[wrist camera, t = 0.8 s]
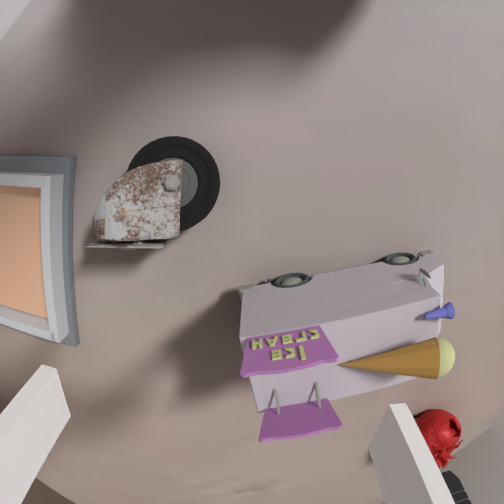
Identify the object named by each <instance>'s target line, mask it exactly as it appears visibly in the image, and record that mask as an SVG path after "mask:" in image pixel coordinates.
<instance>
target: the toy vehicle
mask: <svg viewBox="0 0 504 504" xmlns="http://www.w3.org/2000/svg"><path fill="white" fill-rule="evenodd" d="M443 284H444V263H443V262H441V261H440V260H438V259H436V258H435V257H433V252H432V251H430V250H426V251H422V252H419V254H417V258H416V257H415V256H414V255H413V254H409V253H395V254H391V255H389V256H387V257H386V258H385V259H384V261H383V262H378V263H373V264H368V265H363V266H358V267H352V268H347V269H342V270H337V271H331V272H326V273H321V274H315V275H313V278H312V279H310V277H309V276H308V275H306V274H302V273H291V274H287V275H283V276H281V277H279V278H278V279H276V280H275V282H274V284H273V285H271V281H270V279H268V283H266V284H261V285H256V286H252V284H251V285H245V286H240V287H239V294H240V299H241V304H242V308H241V321H240V334H239V339H240V343H241V347H242V351H243V355H244V357H243V361H242V366H241V370H240V377H241V378H247V377H249V379H250V383H251V387H252V391H253V395H254V399H255V402H256V406H257V410H258V413H261V412H264V417H263V421H262V426H261V430H260V435H259V442H266V441H270V440H280V439H293V438H300V437H306V436H310V435H314V434H318V433H322V432H325V431H329V430H337V429H341V428H342V423H341V421H340V420H339V418H338V416H337V415H336V413H335V411H334V410H333V408H332V406H331V404H330V403H329V401H331V400H335V399H340V398H344V397H349V396H353V395H357V394H361V393H365V392H369V391H373V390H377V389H380V388H384V387H388V386H391V385H395V384H398V383H402V382H405V381H408V380H411V379H415V378H418V377H420V378H429V379H437V378H440V377H442V376H444V375H446V374H447V373H448V372H449V371H450V369H451V368H452V367H453V364H454V360H455V352H454V349H453V347H452V345H451V344H450V343H449V342H448V341H447V340H444V339H442V338H438V334H439V333H440V329H441V318H447V319H452V318H454V315H455V310H454V307H453V305H452V303H450V302H448V303H447V304H445V305H444V306H443V307H442V304H443Z"/></svg>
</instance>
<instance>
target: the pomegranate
mask: <svg viewBox="0 0 504 504" xmlns="http://www.w3.org/2000/svg"><path fill="white" fill-rule="evenodd" d="M414 420H415V422H416V424H417V426H418V428H419V430H420V432H421V434H422V436H423V438H424V440H425V442H426V444H427V446H428V448H429V450H430V452H431V454H432V456H433V458H434V460H435V462H436V464H437V466H438V468H440V465H441V466H442V467H443V468H444V467H445V466H446V465H447V464H448V461H447V459H453V457H452V456H451V455H450V454H451V453H452V451H453V450H454V449H455V448H458V447H459V445H460V443H461V442H462V441H463V440H462V441H460V442H459V444H458V445H456V444H457V442H458V441H459V439H460V436H461V425H460V423H459V421H458V419H457V418H456V417H455V416H454V415H452V414H451V413H449V412H447V411H444V410H440V409H434V410H429V411H426V412H424V413H422V414H421V415H420V416H419V417H417V418H415V419H414ZM455 445H456V446H455ZM454 458H456V457H454ZM441 463H442V464H441Z"/></svg>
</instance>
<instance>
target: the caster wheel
mask: <svg viewBox="0 0 504 504" xmlns="http://www.w3.org/2000/svg"><path fill="white" fill-rule="evenodd" d="M219 189H220V177H219V171H218V168H217V165H216V163H215V161H214V159H213V157H212V156H211V154H210V153H209V152H208V151H207V150H206V149H205V148H204V147H203V146H202V145H200V144H199V143H197V142H195V141H193V140H191V139H188V138H184V137H178V136H171V137H164V138H159V139H157V140H154V141H152V142H150V143H148V144H147V145H146V146H144V147H143V148H142V149H141V150H140V151H139V152H138V153H137V154H136V155H135V156H134V158H133V160H132V161H131V163H130V165H129V167H128V170H127V173H126V174H124V175H123V176H121V177H120V178H119V179H118V180H117V181H115V182H114V184H113V185H112V186H111V187H110V188H109V189H108V190H107V192H106V193H105V195H104V196H103V198H102V199H101V201H100V203H99V204H98V206H97V209H96V211H95V213H94V215H93V237H94V238H96V239H100V240H98V241H95V242H93V243H91V244H88V245H86V246H84V247H87V248H119V249H121V250H125V251H132V250H136V249H162V248H163V247H164V245H165V242H166V240H154V239H170V238H176V237H179V233H180V230H184V229H187V228H190V227H192V226H194V225H196V224H197V223H199V222H200V221H202V220H203V219H204V218H205V217H206V216H207V215H208V214H209V213H210V211H211V210H212V208H213V207H214V205H215V203H216V200H217V197H218V194H219Z"/></svg>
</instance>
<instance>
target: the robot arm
mask: <svg viewBox="0 0 504 504" xmlns="http://www.w3.org/2000/svg"><path fill="white" fill-rule="evenodd" d="M70 417H71V415H70V412H69V409H68V406H67V403H66V399H65V396H64V393H63V390H62V386H61V383H60V379H59V376H58V372H57V369H55V368H52V367H49V366H46V365H41V366H40V368H39V369H38V370H37V371H36V372H35V373H34V374H33V376H32V377H31V378H30V379H29V380H28V381H27V383H26V384H25V385H24V386H23V387H22V389H21V390H20V391H19V392H18V393H17V395H16V396H15V397H14V398H13V399H12V401H11V402H10V403H9V404H8V406H7V407H6V408H5V409H4V411H3V412H2V413H1V414H0V504H21V503H22V501H23V499H24V497H25V495H26V493H27V492H28V490H29V488H30V486H31V484H32V482H33V481H34V478H35V477H36V475H37V473H38V471H39V470H40V468H41V466H42V464H43V463H44V461H45V459H46V457H47V456H48V454H49V452H50V450H51V449H52V447H53V445H54V444H55V442H56V440H57V438H58V437H59V435H60V433H61V432H62V430H63V428H64V427H65V425H66V423H67V422H68V420H69V418H70ZM368 450H369V453H370V456H371V459H372V462H373V465H374V468H375V471H376V474H377V477H378V481H379V484H380V487H381V490H382V493H383V496H384V500H385V503H386V504H471V502H470V500H468V496H467V494H466V492H464V488H463V486H462V484H461V482H460V480H459V478H458V477H457V476H456V475H454V474H453V473H452V472H451V471H447V472H443V473H441V472H440V470H439V468H438V466H437V464H436V462H435V460H434V458H433V456H432V454H431V452H430V450H429V448H428V446H427V444H426V442H425V440H424V438H423V436H422V434H421V432H420V430H419V428H418V426H417V424H416V422H415V420H414V418H413V416H412V414H411V412H410V410H409V409H408V407H407V405H406V403H401V404H389V406H388V408H387V410H386V413H385V415H384V417H383V419H382V421H381V423H380V425H379V427H378V429H377V431H376V433H375V435H374V437H373V439H372V441H371V443H370V445H369V447H368Z"/></svg>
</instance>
